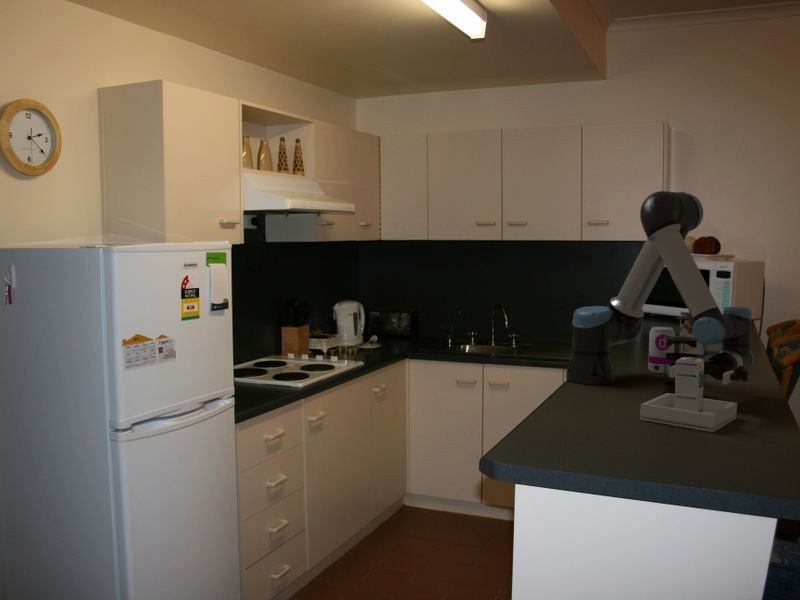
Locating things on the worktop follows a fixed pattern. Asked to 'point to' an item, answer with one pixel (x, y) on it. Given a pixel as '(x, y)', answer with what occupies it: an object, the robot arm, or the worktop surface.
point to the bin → (689, 413)
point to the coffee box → (689, 333)
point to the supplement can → (659, 349)
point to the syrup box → (689, 384)
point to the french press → (677, 354)
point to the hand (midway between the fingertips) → (696, 375)
